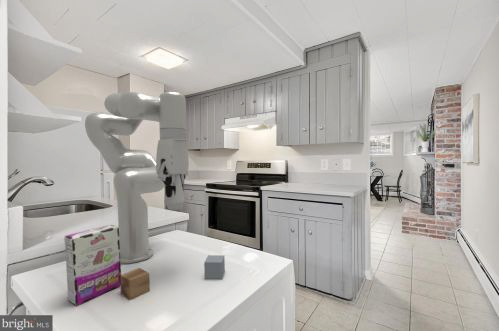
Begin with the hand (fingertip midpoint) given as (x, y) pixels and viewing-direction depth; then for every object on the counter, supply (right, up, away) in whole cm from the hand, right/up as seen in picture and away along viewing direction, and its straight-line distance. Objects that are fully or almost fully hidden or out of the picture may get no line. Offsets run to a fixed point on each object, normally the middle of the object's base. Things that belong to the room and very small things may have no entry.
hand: (174, 197), depth 71 cm
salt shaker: (0, -3, 0) cm, 3 cm away
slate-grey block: (+12, -23, 0) cm, 26 cm away
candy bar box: (-18, -24, -8) cm, 31 cm away
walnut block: (-8, -24, -9) cm, 26 cm away
